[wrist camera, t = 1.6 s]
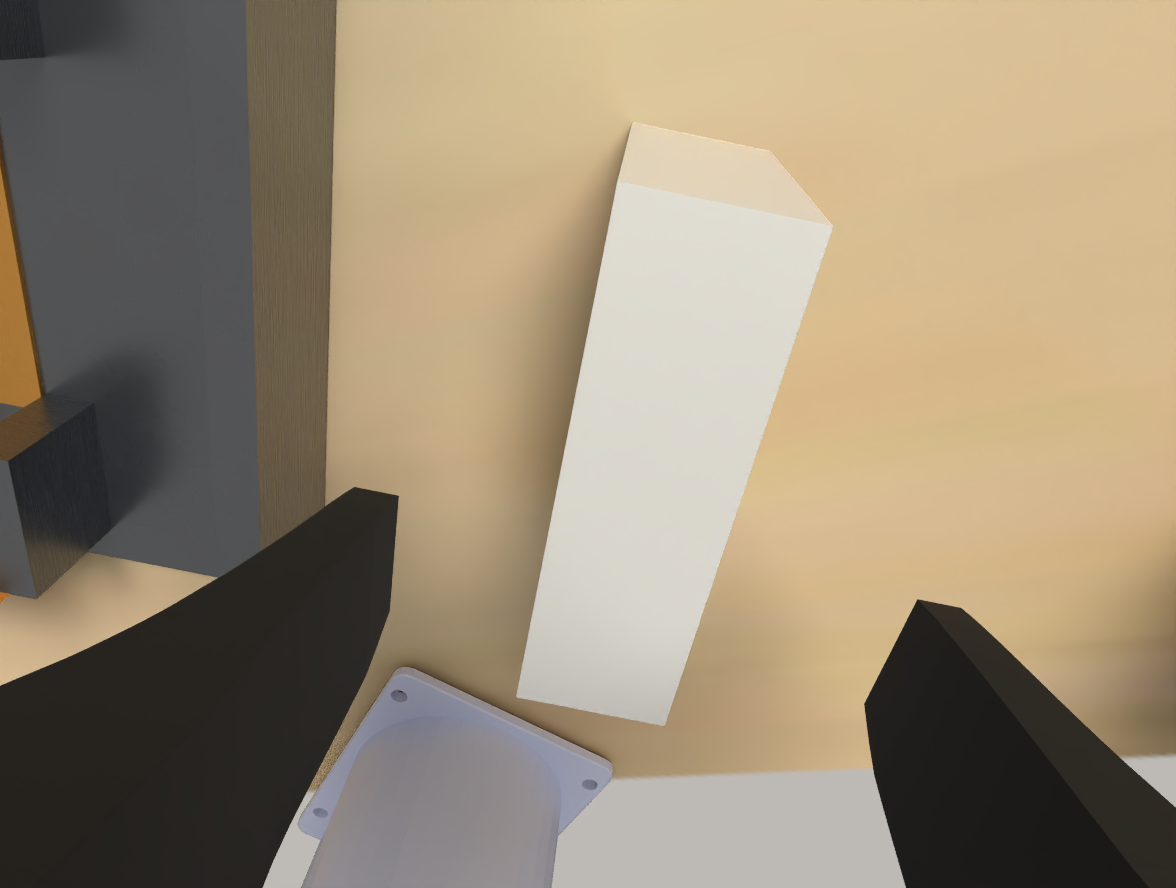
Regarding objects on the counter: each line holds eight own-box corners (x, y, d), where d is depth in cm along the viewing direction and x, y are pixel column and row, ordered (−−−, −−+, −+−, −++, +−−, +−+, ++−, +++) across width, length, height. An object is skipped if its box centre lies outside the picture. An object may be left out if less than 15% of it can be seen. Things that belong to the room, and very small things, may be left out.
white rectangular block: (663, 525, 22) (664, 726, 15) (556, 504, 22) (516, 697, 15) (769, 150, 17) (833, 226, 11) (632, 121, 17) (617, 181, 11)
